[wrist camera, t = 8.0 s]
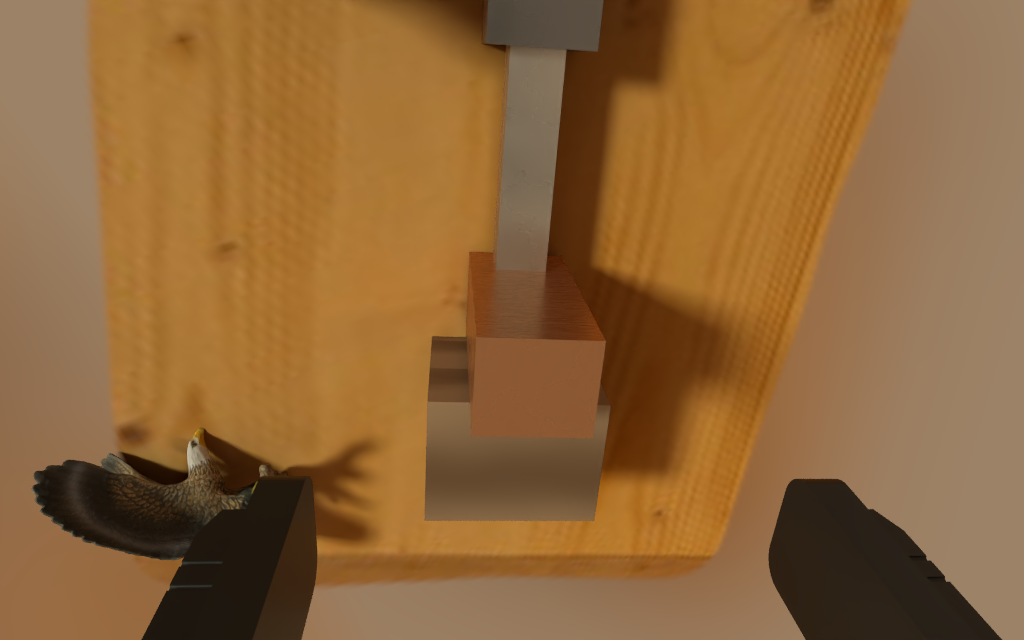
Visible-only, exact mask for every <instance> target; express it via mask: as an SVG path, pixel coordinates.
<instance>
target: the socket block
mask: <svg viewBox="0 0 1024 640" xmlns="http://www.w3.org/2000/svg"><path fill="white" fill-rule="evenodd" d="M610 408H611V404H610V402H609V400H608V398H607V395H606V393H605V391H604V389H603V386H602V384H601V382H600V389H599V397H598V404H597V411H596V419H595V426H594V433H593V438H545V437H477V436H471V423H470V402H469V381H468V360H467V338H464V337H432V347H431V361H430V375H429V389H428V406H427V447H426V488H425V521H594V518H595V511H596V505H597V498H598V491H599V484H600V477H601V470H602V463H603V456H604V450H605V443H606V436H607V429H608V422H609V415H610Z"/></svg>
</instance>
